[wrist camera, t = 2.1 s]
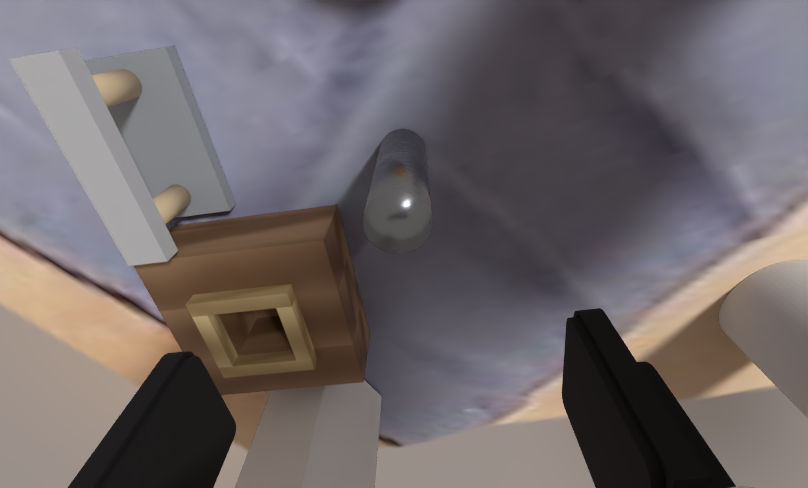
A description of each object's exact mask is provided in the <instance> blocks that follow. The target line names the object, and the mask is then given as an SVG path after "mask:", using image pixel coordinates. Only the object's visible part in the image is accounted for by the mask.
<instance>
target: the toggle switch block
mask: <svg viewBox="0 0 808 488" xmlns="http://www.w3.org/2000/svg"><path fill="white" fill-rule="evenodd" d="M169 233H170V235H171V237H172V239H173V241H174V243H175V245H176V247H177V249H178V251H177V252H176V253H175V254H174V255H173V256H172V257H171V258H170V260H169V261H167V262H159V263H150V264H142V265H134V267H135V269H136V271H137V273H138V274H139V276H140V278H141V280H142V281H143V283H144V285H145V287H146V288H147V290H148V292H149V294H150V295H151V297H152V299H153V301H154V302H155V304H156V306H157V308H158V309H159V311H160V313H161V314H162V316H163V318H164V320H165V321H166V323H167V325H168V327H169V328H170V330H171V332H172V334H173V335H174V337H175V339H176V341H177V342H178V344H179V346H180V348H181V349H182V351H183V352H186V351H191V352H192V353H194V355H195V356H198V357H200V359H201V360H202V362H203V364H204V366H205V367H206V369H207V371H208V373H209V375H210V377H211V378H212V380H213V382H214V384H215V386H216V388H217V389H218V391H219V393H220V395H225V394H236V393H247V392H259V391H270V390H281V389H293V388H304V387H315V386H327V385H338V384H349V383H361V382H364V376H365V368H366V361H367V353H368V346H369V338H370V333H369V329H368V325H367V321H366V317H365V313H364V309H363V305H362V301H361V297H360V293H359V289H358V285H357V281H356V277H355V273H354V269H353V265H352V261H351V257H350V253H349V249H348V245H347V241H346V237H345V233H344V229H343V225H342V221H341V217H340V213H339V209H338V205H332V206H324V207H316V208H309V209H301V210H293V211H285V212H278V213H270V214H262V215H254V216H247V217H239V218H231V219H223V220H216V221H208V222H200V223H192V224H185V225H177V226H174V227H172V228H171V229H170V230H169Z"/></svg>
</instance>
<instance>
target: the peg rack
mask: <svg viewBox="0 0 808 488" xmlns="http://www.w3.org/2000/svg"><path fill="white" fill-rule="evenodd" d="M9 61H10V62H11V64H12V66H13V68H14V69H15V71H16V73H17V75H18V76H19V78H20V80H21V81H22V83H23V85H24V87H25V88H26V90H27V92H28V94H29V95H30V97H31V99H32V100H33V102H34V104H35V106H36V107H37V109H38V111H39V112H40V114H41V116H42V118H43V119H44V121H45V123H46V125H47V126H48V128H49V130H50V131H51V133H52V135H53V137H54V138H55V140H56V142H57V144H58V145H59V147H60V149H61V150H62V152H63V154H64V156H65V157H66V159H67V161H68V162H69V164H70V166H71V168H72V169H73V171H74V173H75V175H76V176H77V178H78V180H79V181H80V183H81V185H82V187H83V188H84V190H85V192H86V194H87V195H88V197H89V199H90V200H91V202H92V204H93V206H94V207H95V209H96V211H97V212H98V214H99V216H100V218H101V219H102V221H103V223H104V225H105V226H106V228H107V230H108V231H109V233H110V235H111V237H112V238H113V240H114V242H115V244H116V245H117V247H118V249H119V250H120V252H121V254H122V256H123V257H124V259H125V261H126V262H127V264H128V266H134V265H142V264H150V263H159V262H167V261H169V260H170V258H171V257H172V256H173V255H174V254H175V253H176V252H177V251H178V249H177V247H176V245H175V243H174V241H173V239H172V237H171V235H170V233H169V231H168V229H167V227H166V224H167V223H168V222H169V221H170V220H172V219H173V218H177V217H185V216H193V215H200V214H208V213H216V212H223V211H230V210H231V209H232V208H233V207H234V206H235V205H236V204H235V201H234V198H233V196H232V193H231V191H230V188H229V186H228V183H227V180H226V178H225V175H224V173H223V170H222V167H221V165H220V162H219V160H218V157H217V155H216V152H215V149H214V147H213V144H212V142H211V139H210V136H209V134H208V131H207V129H206V126H205V124H204V121H203V118H202V116H201V113H200V111H199V108H198V106H197V103H196V100H195V98H194V95H193V93H192V90H191V87H190V85H189V82H188V80H187V77H186V75H185V72H184V69H183V67H182V64H181V62H180V59H179V56H178V54H177V51H176V49H175V46H170V47H164V48H158V49H152V50H146V51H141V52H135V53H129V54H123V55H117V56H111V57H105V58H100V59H94V60H88V61H84V60H83V58H82V56H81V54H80V52H79V49H78V48H77V49H68V50H59V51H53V52H47V53H42V54H36V55H30V56H24V57H19V58H13V59H9Z"/></svg>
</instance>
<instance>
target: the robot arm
mask: <svg viewBox="0 0 808 488" xmlns="http://www.w3.org/2000/svg"><path fill="white" fill-rule="evenodd" d="M562 399H563V404H564V407H565V410H566V413H567V415H568V418H569V420H570V423H571V425H572V428H573V430H574V433H575V436H576V438H577V441H578V443H579V446H580V448H581V451H582V454H583V456H584V459H585V461H586V464H587V466H588V469H589V471H590V474H591V477H592V479H593V482H594V484H595V487H596V488H753V487H745V486H737V487H736V486H735V484H734V483H733V481H732V480H731V478H730V477H729V475H728V474H727V472H726V471H725V470H724V468H723V467H722V465H721V464H720V462H719V461H718V459H717V458H716V456H715V455H714V454H713V452H712V451H711V449H710V448H709V446H708V445H707V443H706V442H705V440H704V439H703V438H702V436H701V435H700V433H699V432H698V430H697V429H696V427H695V426H694V424H693V423H692V422H691V420H690V419H689V417H688V416H687V414H686V413H685V411H684V410H683V409H682V407H681V406H680V404H679V403H678V401H677V400H676V398H675V397H674V395H673V394H672V392H671V391H670V390H669V388H668V387H667V385H666V384H665V382H664V381H663V379H662V378H661V376H660V375H659V374H658V372H657V371H656V370H655V368H654V367H653V366H652V365H651V364H649V363H648V362H636V360H635V359H634V357H633V356H632V354H631V353H630V351H629V349H628V348H627V346H626V345H625V343H624V342H623V340H622V339H621V337H620V336H619V334H618V332H617V331H616V329H615V328H614V326H613V325H612V323H611V322H610V320H609V319H608V317H607V315H606V314H605V312H604V311H603V310H602V309H600V308H599V309H590V310H580V311H575V313H574V317H572V318H568V319H567V322H566V338H565V353H564V368H563V384H562ZM235 432H236V423H235V421H234V419H233V417H232V415H231V413H230V411H229V410H228V408H227V406H226V404H225V402H224V400H223V399H222V397H221V395H220V393H219V391H218V389H217V388H216V386H215V384H214V382H213V380H212V378H211V377H210V375H209V373H208V371H207V369H206V367H205V366H204V364H203V362H202V360H201V359H200V357H198V356H195V355H194V353H192V352H191V351H186V352H176V353H168V354H166V355H164V356H163V357H162V358H161V359H160V361H159V362H158V364H157V365H156V366H155V368H154V369H153V370H152V372H151V373H150V375H149V376H148V377H147V379H146V380H145V382H144V383H143V384H142V386H141V387H140V388H139V390H138V391H137V393H136V394H135V395H134V397H133V398H132V400H131V401H130V402H129V404H128V405H127V406H126V408H125V409H124V411H123V412H122V414H121V415H120V416H119V418H118V419H117V420H116V422H115V423H114V424H113V426H112V427H111V429H110V430H109V431H108V433H107V434H106V435H105V437H104V438H103V440H102V441H101V443H100V444H99V445H98V447H97V448H96V449H95V451H94V452H93V453H92V455H91V456H90V458H89V459H88V460H87V462H86V463H85V465H84V466H83V467H82V469H81V470H80V471H79V473H78V474H77V476H76V477H75V478H74V480H73V481H72V482H71V484H70V485H69V487H68V488H213V487H214V484H215V482H216V479H217V477H218V475H219V472H220V470H221V467H222V465H223V463H224V460H225V458H226V455H227V453H228V451H229V448H230V446H231V444H232V441H233V439H234V436H235Z"/></svg>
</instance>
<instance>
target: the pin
mask: <svg viewBox="0 0 808 488" xmlns="http://www.w3.org/2000/svg"><path fill="white" fill-rule="evenodd" d="M362 224H363V229H364V232H365V235H366V236H367V238H368V239H369V241H370V242H371V243H372V244H373V245H374V246H376V247H377V248H379V249H381V250H383V251H386V252H389V253H398V254H399V253H407V252H410V251H413V250H415V249H417V248H419V247H420V246H421V245H422V244H423V243H424V242H425V241H426V240H427V239H428V237H429V235H430V233H431V230H432V212H431V201H430V190H429V179H428V169H427V158H426V148H425V145H424V142H423V140H422V139H421V138H420V136H418V135H417V134H416V133H414V132H413V131H410V130H406V129H399V130H395V131H392V132H390V133H389V134H388V135H386V136H385V138H384V139H383V140H382V142H381V145H380V148H379V152H378V156H377V161H376V165H375V169H374V173H373V177H372V181H371V185H370V189H369V193H368V197H367V202H366V206H365V210H364V214H363V220H362Z"/></svg>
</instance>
